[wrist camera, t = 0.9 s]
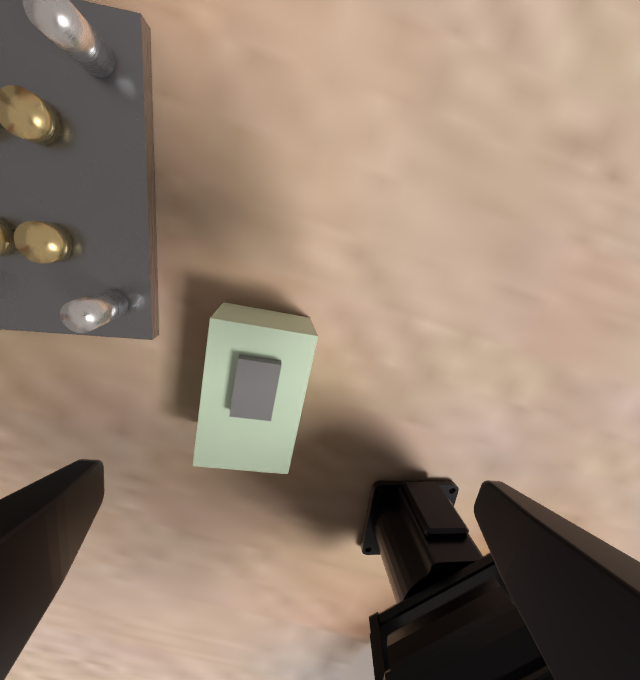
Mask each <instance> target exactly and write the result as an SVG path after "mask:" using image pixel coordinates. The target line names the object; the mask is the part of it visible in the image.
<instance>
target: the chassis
mask: <svg viewBox="0 0 640 680" xmlns="http://www.w3.org/2000/svg"><path fill="white" fill-rule="evenodd" d="M0 329H6V330H20V331H34V332H48V333H63V334H77V335H91V336H106V337H120V338H134V339H149V340H153V339H154V338H155V337H157V336H158V335H159V316H158V281H157V247H156V212H155V177H154V143H153V108H152V73H151V39H150V28H149V26H148V24H147V23H146V21H145V20H144V18H143V16H142V15H141V14H140V13H136V12H131V11H127V10H122V9H117V8H113V7H108V6H104V5H99V4H94V3H90V2H85V1H81V0H0Z"/></svg>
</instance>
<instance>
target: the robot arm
mask: <svg viewBox="0 0 640 680" xmlns="http://www.w3.org/2000/svg"><path fill="white" fill-rule="evenodd" d="M379 488H381V489H379ZM451 488H452V489H451ZM378 489H379V490H378ZM457 494H458V487H457V485H456V484H455V483H454V482H451V481H378V482H376V483H375V484H374V485H373V487H372V492H371V497H370V502H369V507H368V512H367V517H366V522H365V527H364V532H363V537H362V542H361V549H362V552H363V554H365V555H380V554H381V557H382V560H383V563H384V566H385V569H386V572H387V575H388V578H389V581H390V584H391V587H392V591H393V594H394V597H395V600H396V603H397V604H395V605H393V606H391V607H390V608H388V609H386V610H384V611H382V612H380V613H378V612H376V613H375V614H373V615H371V616H369V622H370V630H371V633H370V640H371V649H372V658H373V667H374V675H375V680H640V562H639V561H637V560H635V559H633V558H632V557H630V556H628V555H627V554H625V553H623V552H621V551H620V550H618V549H616V548H615V547H613V546H611V545H609V544H608V543H606V542H604V541H603V540H601V539H599V538H597V537H596V536H594V535H592V534H591V533H589V532H587V531H585V530H584V529H582V528H580V527H578V526H577V525H575V524H573V523H572V522H570V521H568V520H566V519H565V518H563V517H561V516H560V515H558V514H556V513H554V512H553V511H551V510H549V509H548V508H546V507H544V506H542V505H541V504H539V503H537V502H536V501H534V500H532V499H530V498H529V497H527V496H525V495H524V494H522V493H520V492H518V491H517V490H515V489H513V488H511V487H510V486H508V485H506V484H505V483H503V482H500V481H488V480H487V481H484V482H483V483H482V485H481V487H480V490H479V493H478V496H477V499H476V501H475V504H474V514H475V518H476V520H477V522H478V525H479V527H480V529H481V531H482V534H483V536H484V538H485V541H486V543H487V545H488V548H489V550H490V553H488V554H487V555H485V556H483V555H482V554H481V552H480V551H479V549H478V548H477V546H476V544H475V543H474V541H473V540H472V538H471V537H470V535H469V534H468V532H469V530H468V528H467V526H466V525H465V523H464V522H463V520H462V519H461V517H460V516H459V514H458V513H457V511H456V509H455V508H454V504H455V501H456V497H457ZM103 497H104V466H103V463H102V462H101V461H100V460H89V459H81V460H78V461H75V462H73V463H71V464H69V465H67V466H65V467H63V468H61V469H59V470H57V471H55V472H54V473H52V474H50V475H48V476H46V477H44V478H42V479H40V480H38V481H36V482H34V483H32V484H30V485H28V486H26V487H24V488H22V489H20V490H18V491H16V492H14V493H12V494H10V495H8V496H6V497H4V498H2V499H0V680H4V679H5V678H6V676H7V674H8V673H9V671H10V670H11V668H12V666H13V665H14V663H15V661H16V660H17V658H18V656H19V655H20V653H21V651H22V650H23V648H24V646H25V645H26V643H27V641H28V640H29V638H30V636H31V635H32V633H33V632H34V630H35V628H36V627H37V625H38V623H39V622H40V620H41V618H42V617H43V615H44V613H45V612H46V610H47V608H48V607H49V605H50V603H51V602H52V600H53V598H54V597H55V595H56V593H57V592H58V590H59V588H60V586H61V585H62V583H63V581H64V579H65V577H66V575H67V573H68V571H69V569H70V567H71V565H72V563H73V561H74V559H75V557H76V555H77V553H78V551H79V549H80V547H81V545H82V543H83V541H84V539H85V537H86V534H87V532H88V530H89V528H90V526H91V524H92V522H93V520H94V518H95V516H96V514H97V512H98V510H99V508H100V506H101V504H102V501H103Z"/></svg>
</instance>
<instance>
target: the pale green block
mask: <svg viewBox="0 0 640 680" xmlns="http://www.w3.org/2000/svg"><path fill="white" fill-rule="evenodd" d="M317 338H318V335H317V333H316V330H315V328H314V326H313V323H312V321H311V319H310V317H304V316H298V315H293V314H287V313H282V312H276V311H270V310H265V309H259V308H253V307H248V306H242V305H237V304H231V303H225V302H223V303H222V304H221V306H220V307H219V308H218V309H217V310H216V312H215V313H214V314H213V315H212V316H211V317H210V322H209V330H208V339H207V347H206V356H205V365H204V373H203V382H202V390H201V399H200V407H199V416H198V424H197V433H196V441H195V450H194V458H193V466H196V467H208V468H220V469H232V470H244V471H256V472H268V473H280V474H288V472H289V467H290V463H291V458H292V453H293V449H294V444H295V440H296V435H297V430H298V426H299V421H300V417H301V412H302V407H303V403H304V398H305V393H306V389H307V384H308V380H309V375H310V370H311V366H312V361H313V357H314V352H315V347H316V343H317Z"/></svg>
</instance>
